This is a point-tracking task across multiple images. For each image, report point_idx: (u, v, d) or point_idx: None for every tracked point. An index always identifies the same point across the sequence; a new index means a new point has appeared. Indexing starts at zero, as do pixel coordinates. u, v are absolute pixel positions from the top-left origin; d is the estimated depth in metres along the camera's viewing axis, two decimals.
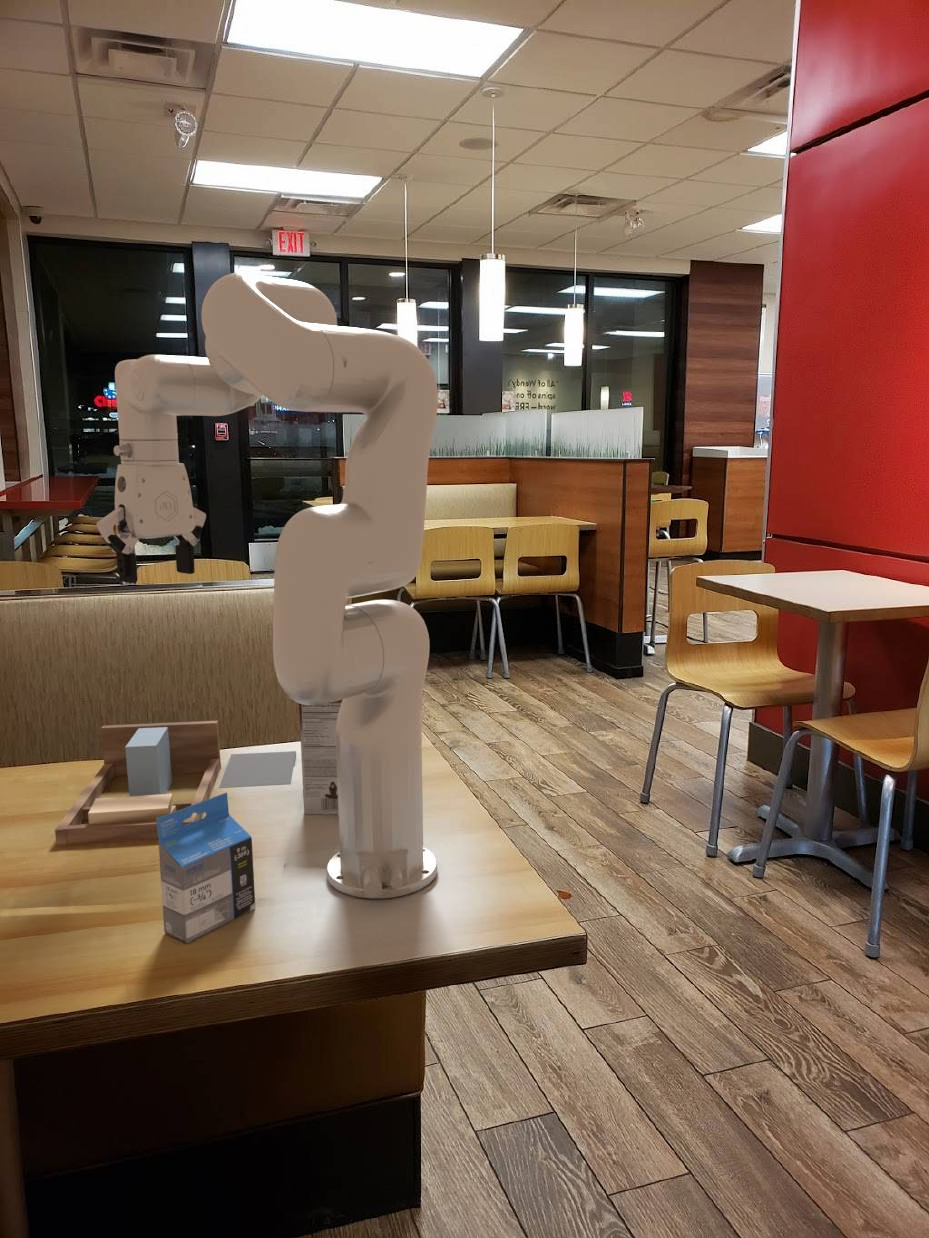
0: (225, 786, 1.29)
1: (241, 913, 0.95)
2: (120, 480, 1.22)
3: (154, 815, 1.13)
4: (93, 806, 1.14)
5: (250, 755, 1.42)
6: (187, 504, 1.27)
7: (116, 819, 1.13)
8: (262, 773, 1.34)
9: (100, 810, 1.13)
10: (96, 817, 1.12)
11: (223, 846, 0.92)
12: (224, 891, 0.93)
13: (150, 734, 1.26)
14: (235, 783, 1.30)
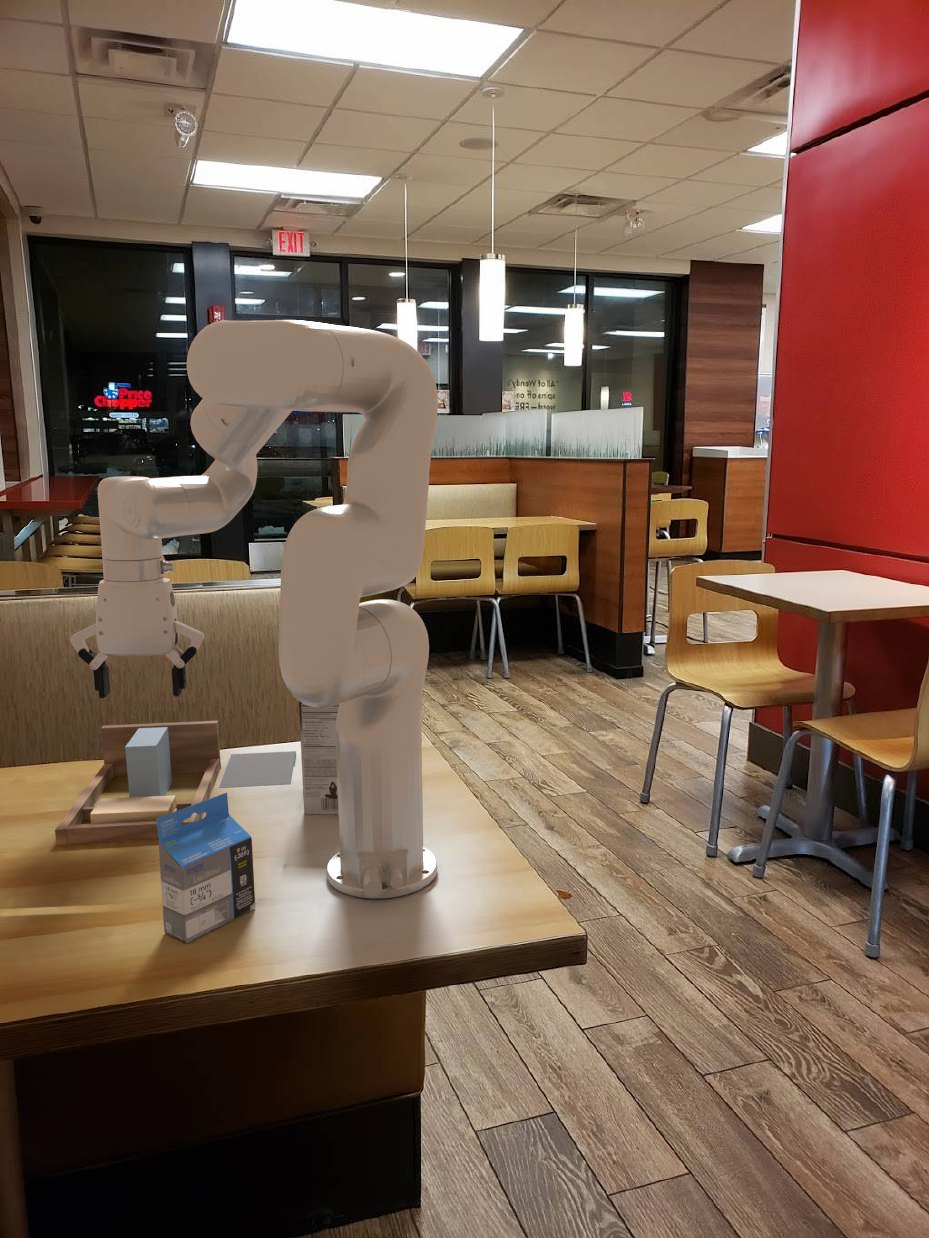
0: (225, 786, 1.29)
1: (241, 913, 0.95)
2: None
3: (155, 817, 1.14)
4: (97, 806, 1.15)
5: (250, 755, 1.42)
6: None
7: (117, 820, 1.13)
8: (262, 773, 1.34)
9: (102, 811, 1.13)
10: (97, 818, 1.13)
11: (223, 846, 0.92)
12: (224, 891, 0.93)
13: (150, 734, 1.26)
14: (235, 783, 1.30)
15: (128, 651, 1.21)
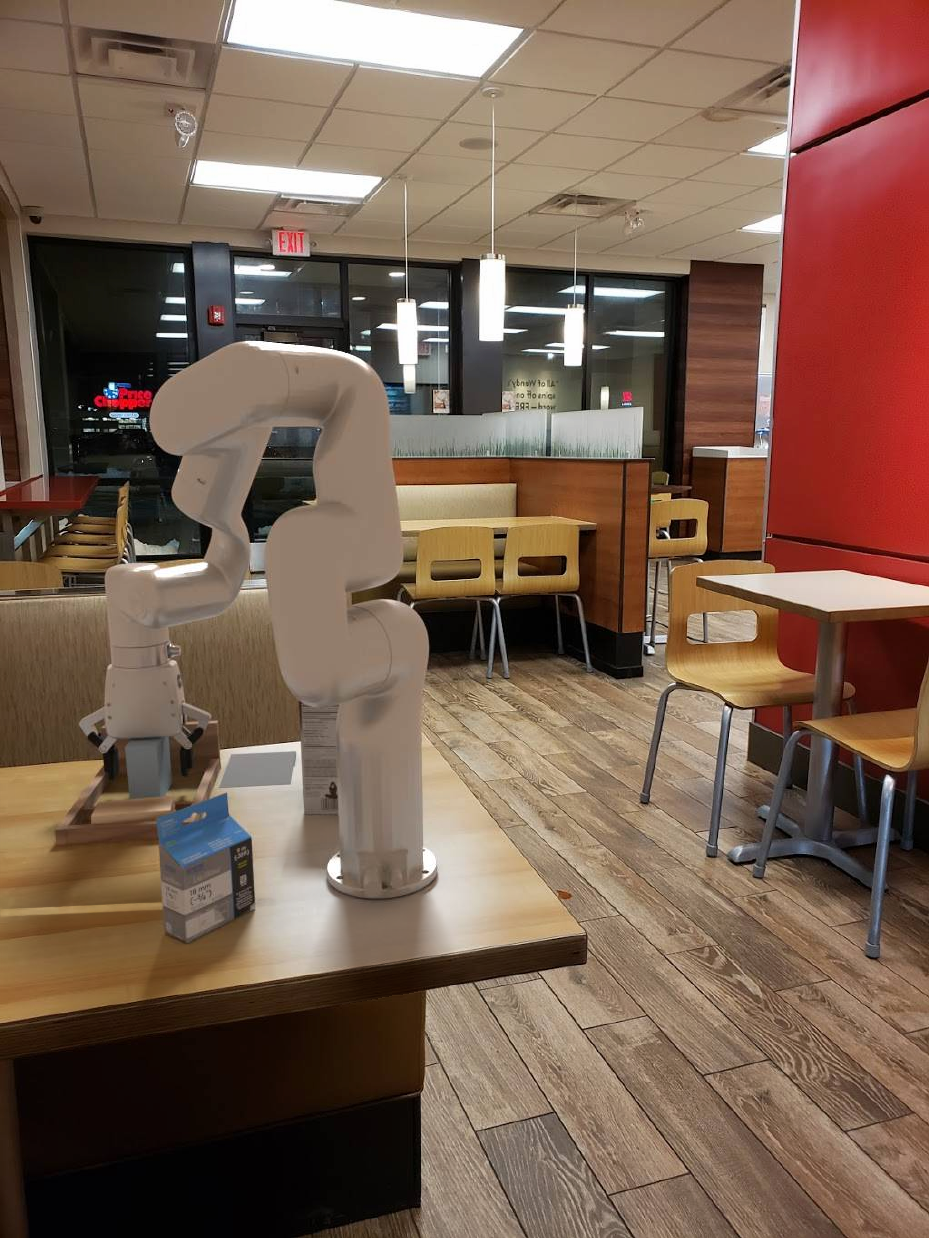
0: (225, 786, 1.29)
1: (241, 913, 0.95)
2: None
3: (157, 817, 1.14)
4: (96, 809, 1.14)
5: (250, 755, 1.42)
6: None
7: (119, 822, 1.13)
8: (262, 773, 1.34)
9: (103, 813, 1.13)
10: (98, 820, 1.12)
11: (223, 846, 0.92)
12: (224, 891, 0.93)
13: None
14: (235, 783, 1.30)
15: (136, 734, 1.23)
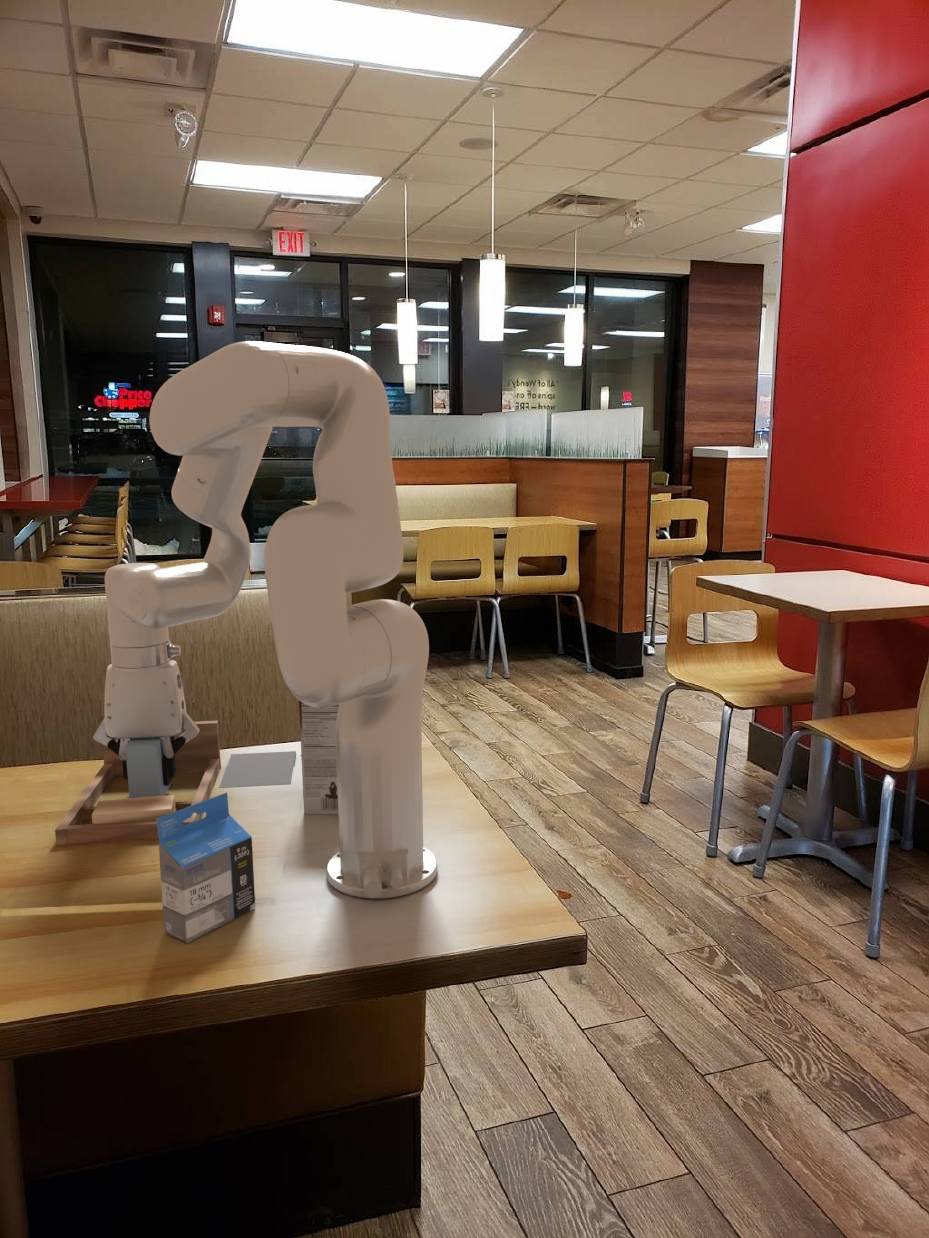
0: (225, 786, 1.29)
1: (241, 913, 0.95)
2: None
3: (158, 816, 1.14)
4: (97, 808, 1.14)
5: (250, 755, 1.42)
6: None
7: (120, 820, 1.13)
8: (262, 773, 1.34)
9: (104, 811, 1.13)
10: (99, 819, 1.12)
11: (223, 846, 0.92)
12: (224, 891, 0.93)
13: None
14: (235, 783, 1.30)
15: (136, 734, 1.23)
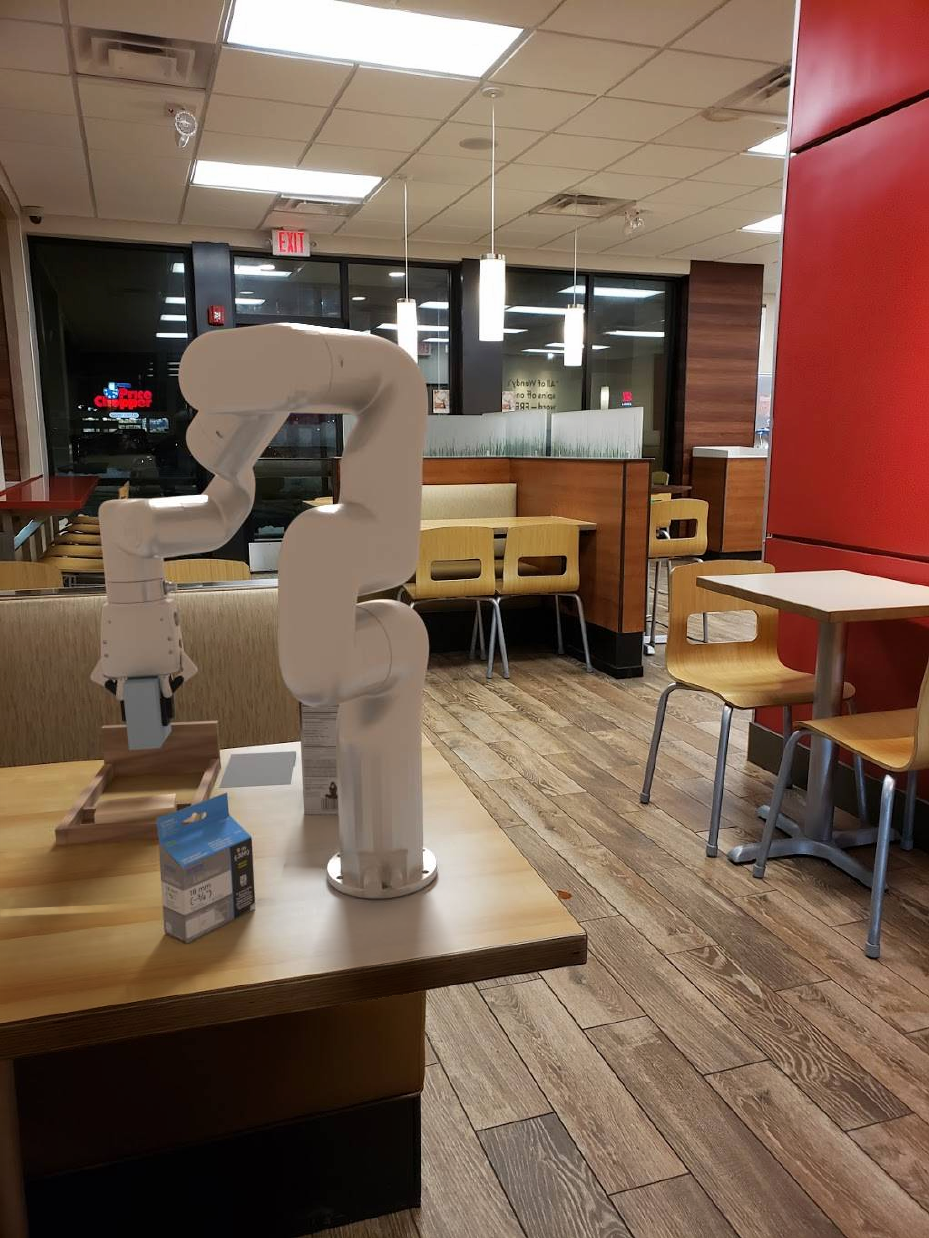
0: (225, 786, 1.29)
1: (241, 913, 0.95)
2: None
3: (160, 815, 1.14)
4: (98, 808, 1.14)
5: (250, 755, 1.42)
6: None
7: (122, 820, 1.13)
8: (262, 773, 1.34)
9: (106, 811, 1.13)
10: (102, 819, 1.12)
11: (223, 846, 0.92)
12: (224, 891, 0.93)
13: None
14: (235, 783, 1.30)
15: (134, 673, 1.21)
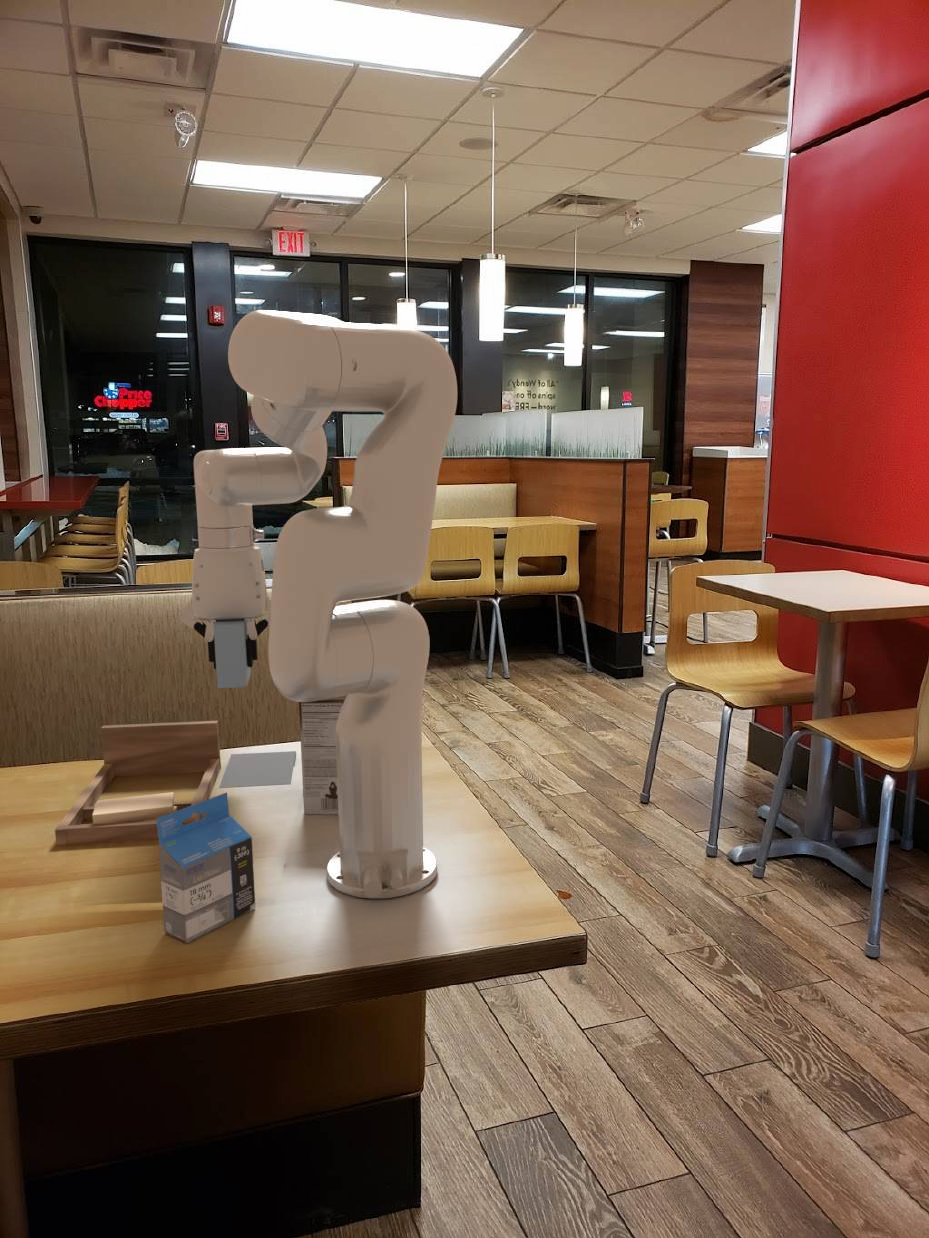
0: (225, 786, 1.29)
1: (241, 913, 0.95)
2: None
3: (159, 814, 1.14)
4: (96, 808, 1.14)
5: (250, 755, 1.42)
6: None
7: (121, 820, 1.13)
8: (262, 773, 1.34)
9: (104, 811, 1.13)
10: (100, 819, 1.12)
11: (223, 846, 0.92)
12: (224, 890, 0.93)
13: None
14: (235, 783, 1.30)
15: (223, 615, 1.27)
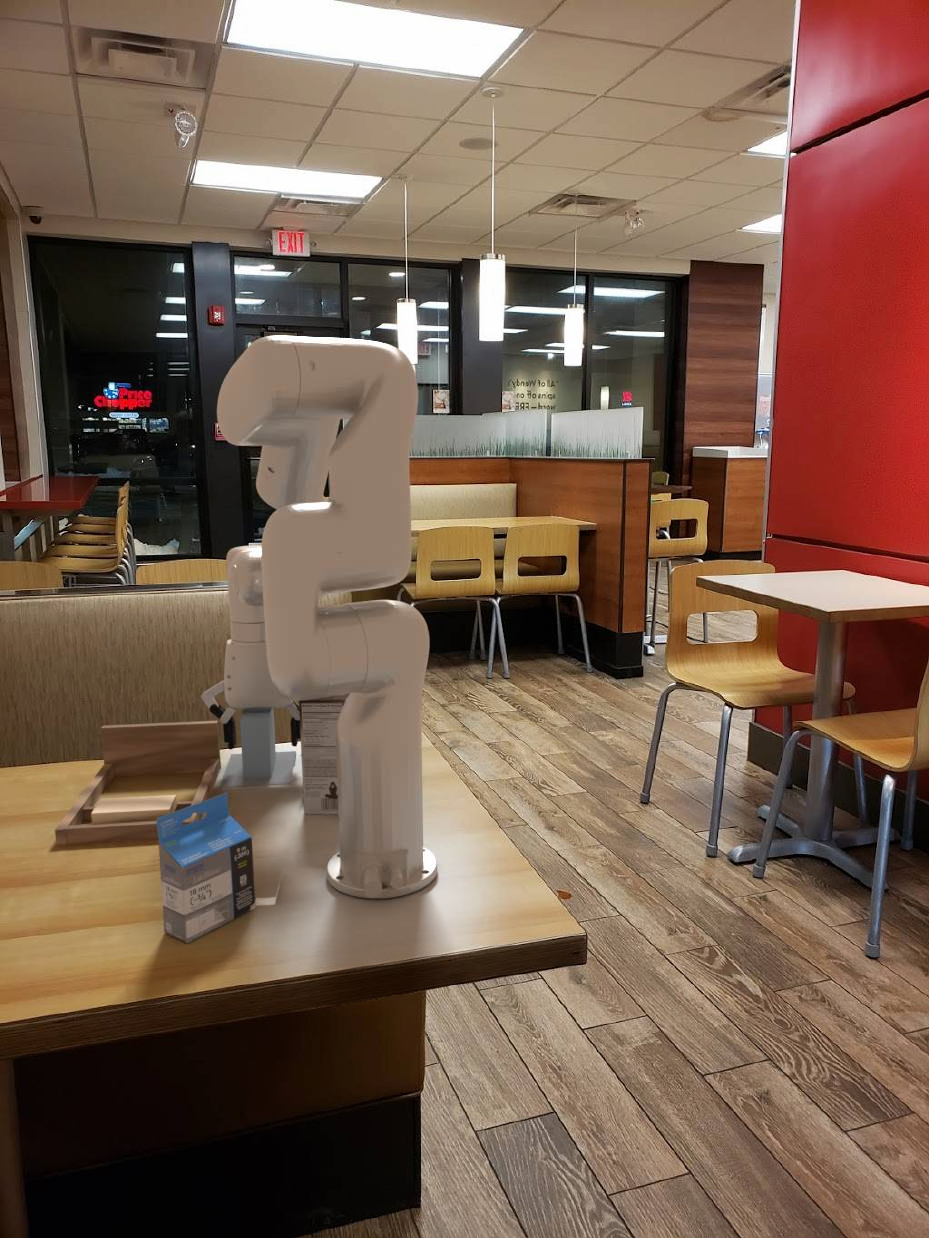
0: (225, 786, 1.29)
1: (241, 913, 0.95)
2: None
3: (156, 816, 1.14)
4: (97, 806, 1.15)
5: None
6: None
7: (118, 820, 1.13)
8: None
9: (103, 810, 1.13)
10: (98, 817, 1.13)
11: (223, 846, 0.92)
12: (224, 891, 0.93)
13: (259, 709, 1.35)
14: (235, 783, 1.30)
15: (253, 705, 1.32)
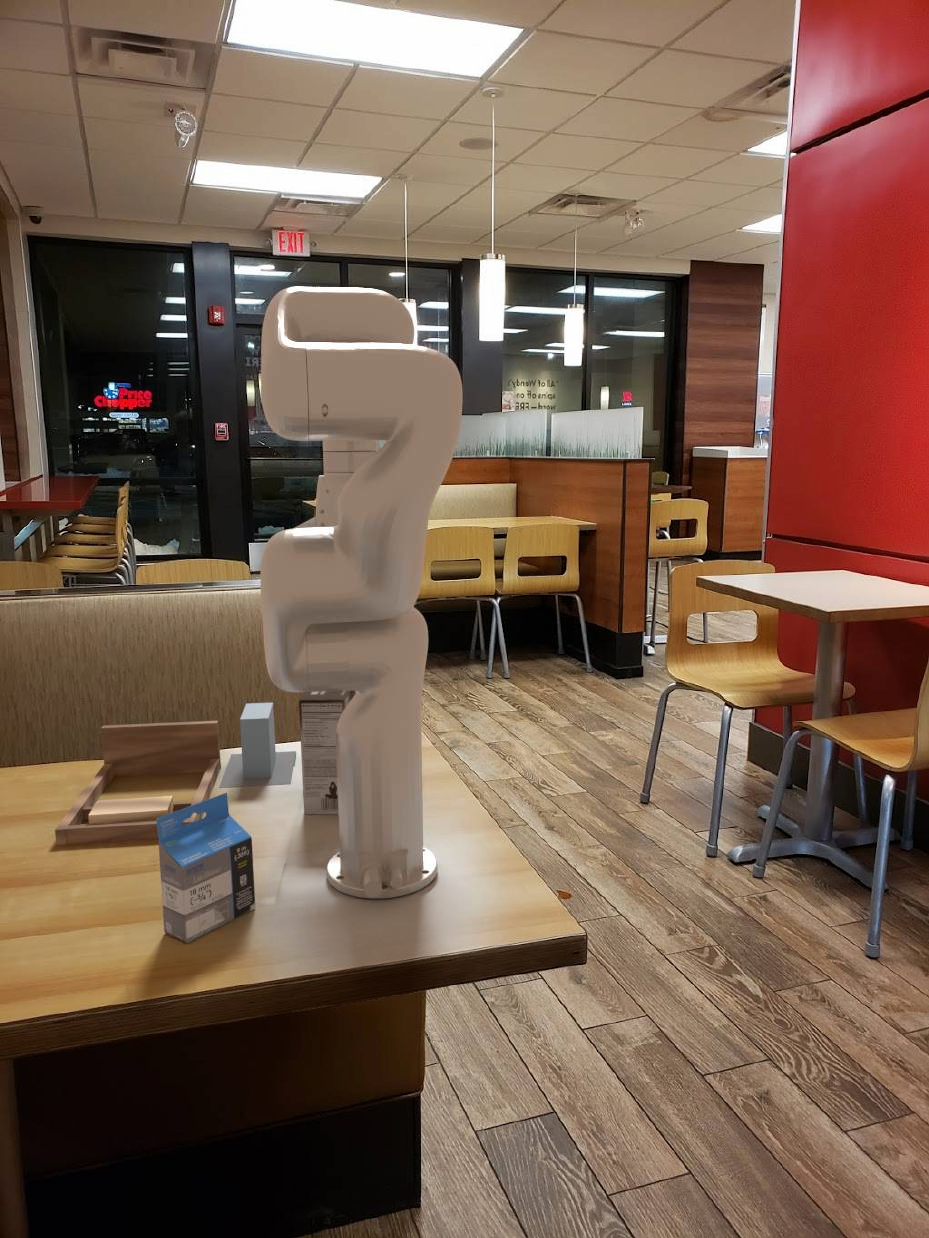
0: (225, 786, 1.29)
1: (241, 913, 0.95)
2: None
3: (154, 817, 1.14)
4: (94, 808, 1.14)
5: None
6: None
7: (116, 821, 1.13)
8: None
9: (100, 812, 1.13)
10: (96, 819, 1.13)
11: (223, 846, 0.92)
12: (224, 891, 0.93)
13: (259, 709, 1.35)
14: (235, 783, 1.30)
15: None
